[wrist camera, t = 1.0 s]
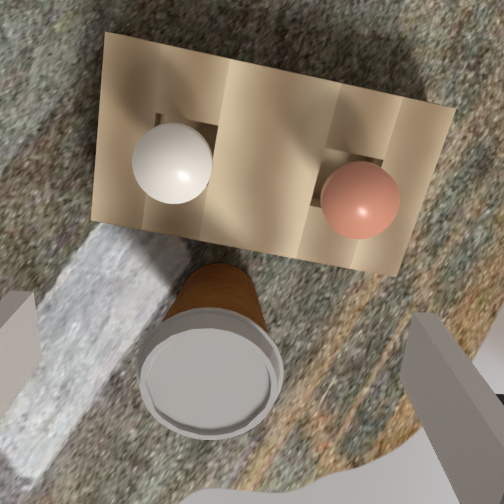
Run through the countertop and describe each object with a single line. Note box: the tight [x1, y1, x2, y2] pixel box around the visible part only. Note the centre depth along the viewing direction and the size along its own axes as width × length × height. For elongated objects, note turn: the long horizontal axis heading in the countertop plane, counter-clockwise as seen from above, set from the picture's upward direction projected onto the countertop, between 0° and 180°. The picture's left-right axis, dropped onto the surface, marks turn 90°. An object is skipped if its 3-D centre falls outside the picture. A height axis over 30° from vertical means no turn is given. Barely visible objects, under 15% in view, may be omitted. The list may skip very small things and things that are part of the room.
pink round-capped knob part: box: [320, 161, 400, 239], centre depth 29 cm, size 4×4×5 cm
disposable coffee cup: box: [136, 263, 284, 440], centre depth 35 cm, size 10×10×12 cm
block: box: [91, 32, 456, 277], centre depth 33 cm, size 22×12×5 cm, turn 78°
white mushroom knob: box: [132, 122, 213, 204], centre depth 28 cm, size 4×4×5 cm
